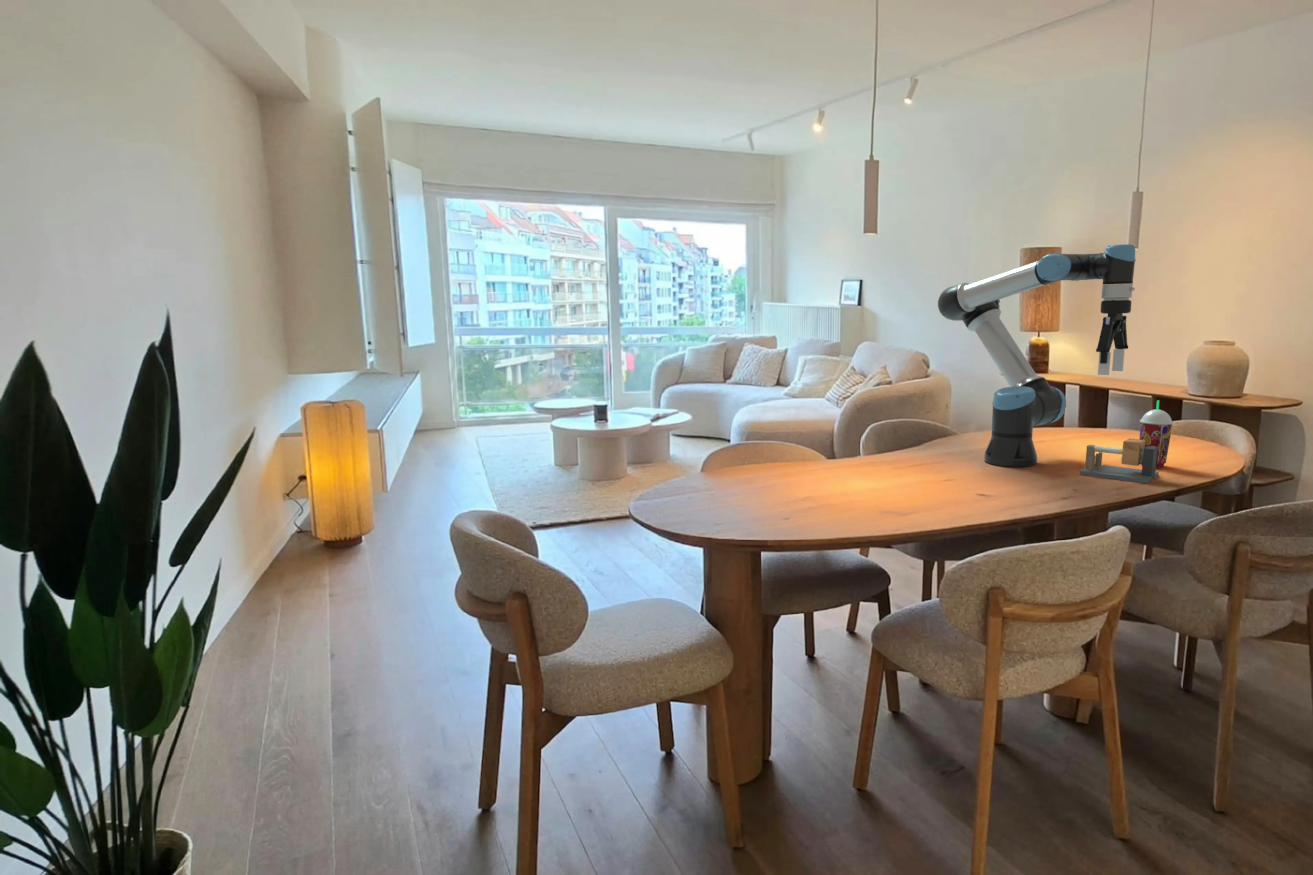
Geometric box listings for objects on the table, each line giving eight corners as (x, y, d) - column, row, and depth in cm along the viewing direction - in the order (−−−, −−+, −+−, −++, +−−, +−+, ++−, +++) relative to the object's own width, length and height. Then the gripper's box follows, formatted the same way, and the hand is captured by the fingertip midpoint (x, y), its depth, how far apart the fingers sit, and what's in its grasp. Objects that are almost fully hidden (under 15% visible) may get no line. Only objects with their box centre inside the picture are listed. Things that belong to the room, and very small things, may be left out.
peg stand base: (1079, 474, 219) (1081, 444, 217) (1092, 467, 227) (1094, 438, 225) (1147, 483, 206) (1150, 451, 205) (1158, 475, 215) (1161, 444, 213)
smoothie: (1175, 468, 223) (1181, 401, 219) (1146, 469, 223) (1152, 402, 219) (1157, 462, 231) (1163, 398, 227) (1129, 463, 231) (1135, 399, 227)
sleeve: (1121, 464, 213) (1123, 441, 212) (1127, 460, 217) (1129, 438, 216) (1137, 465, 210) (1139, 443, 209) (1143, 462, 214) (1145, 440, 213)
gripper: (1118, 300, 206) (1112, 377, 209) (1143, 298, 223) (1136, 370, 226) (1088, 300, 211) (1082, 375, 215) (1114, 299, 228) (1109, 368, 232)
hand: (1110, 373), depth 221 cm, fingers open, 13 cm apart
